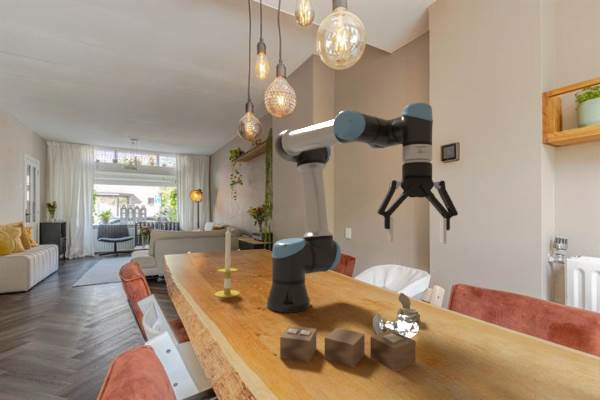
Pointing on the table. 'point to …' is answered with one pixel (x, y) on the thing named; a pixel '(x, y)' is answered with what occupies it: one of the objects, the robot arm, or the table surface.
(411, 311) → the bone
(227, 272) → the candle
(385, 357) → the dot block one
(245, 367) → the table surface
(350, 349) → the plain block
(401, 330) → the figurine
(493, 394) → the table surface
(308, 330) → the dot block two
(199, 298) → the table surface
